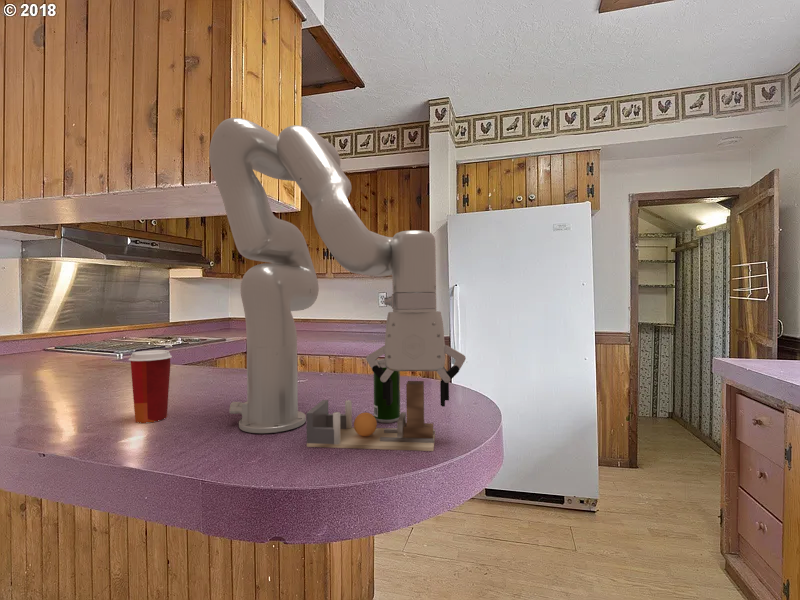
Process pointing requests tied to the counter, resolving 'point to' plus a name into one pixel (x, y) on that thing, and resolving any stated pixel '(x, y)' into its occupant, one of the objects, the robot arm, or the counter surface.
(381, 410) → the beer can
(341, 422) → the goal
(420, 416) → the kicker
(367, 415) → the ball
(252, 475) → the counter surface
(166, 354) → the paper cup
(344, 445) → the board
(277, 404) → the robot arm
